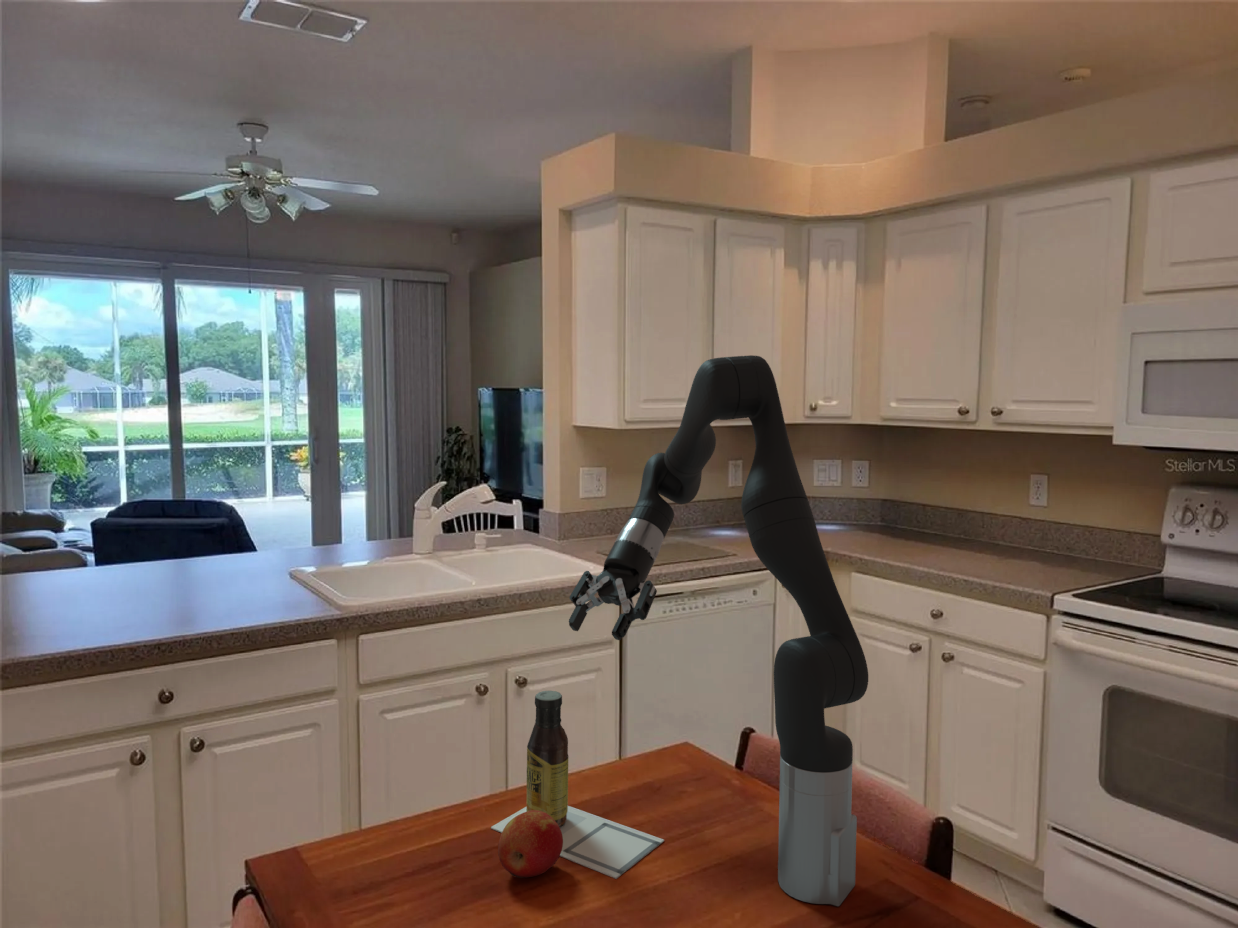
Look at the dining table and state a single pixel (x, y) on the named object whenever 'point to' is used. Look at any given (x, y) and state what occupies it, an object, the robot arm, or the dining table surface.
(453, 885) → the dining table surface
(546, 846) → the apple
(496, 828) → the mat
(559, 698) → the sauce bottle
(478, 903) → the dining table surface
